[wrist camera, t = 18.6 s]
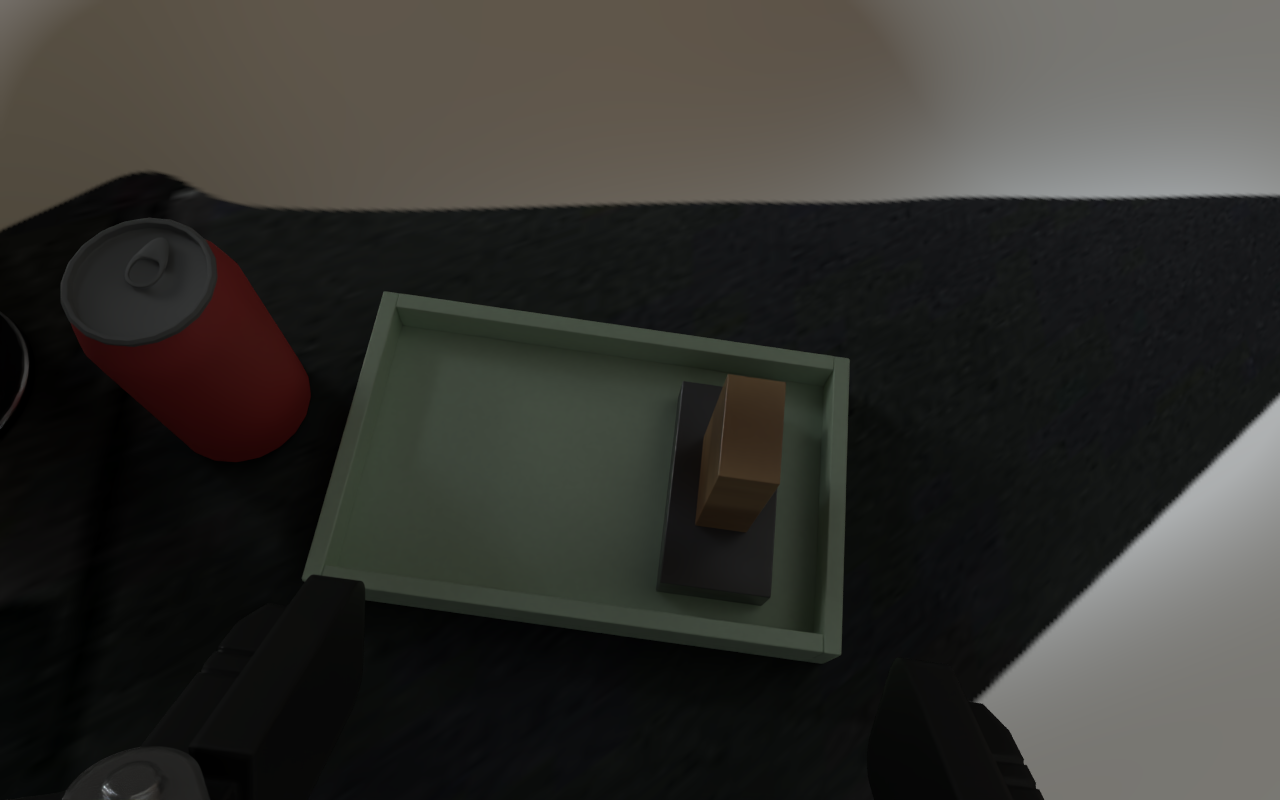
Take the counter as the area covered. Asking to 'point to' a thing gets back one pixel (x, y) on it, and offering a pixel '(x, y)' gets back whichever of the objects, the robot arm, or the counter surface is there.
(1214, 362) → the counter surface
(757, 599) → the eraser
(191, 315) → the beer can
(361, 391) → the tray
